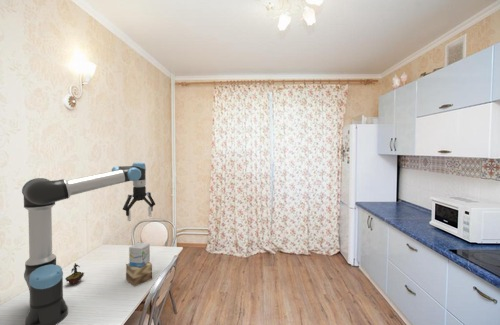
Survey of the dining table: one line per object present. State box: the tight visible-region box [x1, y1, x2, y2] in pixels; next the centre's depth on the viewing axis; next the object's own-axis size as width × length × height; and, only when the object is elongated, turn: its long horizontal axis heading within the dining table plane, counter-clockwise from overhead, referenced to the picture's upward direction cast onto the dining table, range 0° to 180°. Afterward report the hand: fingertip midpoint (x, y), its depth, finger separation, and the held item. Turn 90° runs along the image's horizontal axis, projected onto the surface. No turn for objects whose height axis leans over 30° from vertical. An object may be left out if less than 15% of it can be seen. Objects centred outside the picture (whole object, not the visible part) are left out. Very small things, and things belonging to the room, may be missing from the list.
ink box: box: [128, 242, 151, 267], centre depth 145 cm, size 8×8×12 cm
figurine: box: [65, 263, 85, 285], centre depth 139 cm, size 10×8×12 cm
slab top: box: [125, 261, 153, 279], centre depth 144 cm, size 11×11×5 cm
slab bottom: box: [125, 271, 153, 287], centre depth 145 cm, size 11×11×5 cm
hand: (139, 218), depth 154 cm, fingers open, 13 cm apart
